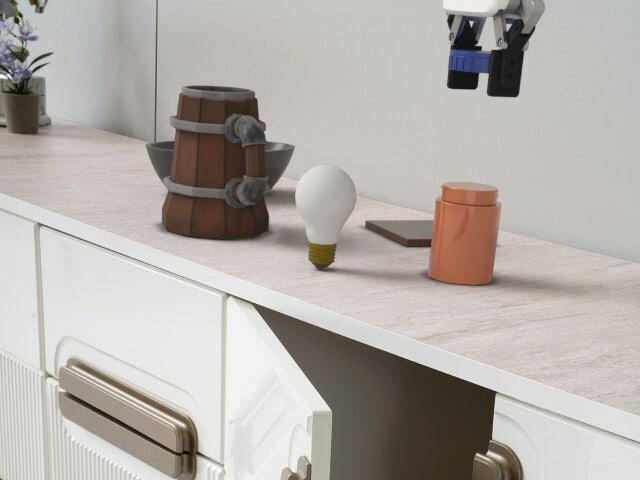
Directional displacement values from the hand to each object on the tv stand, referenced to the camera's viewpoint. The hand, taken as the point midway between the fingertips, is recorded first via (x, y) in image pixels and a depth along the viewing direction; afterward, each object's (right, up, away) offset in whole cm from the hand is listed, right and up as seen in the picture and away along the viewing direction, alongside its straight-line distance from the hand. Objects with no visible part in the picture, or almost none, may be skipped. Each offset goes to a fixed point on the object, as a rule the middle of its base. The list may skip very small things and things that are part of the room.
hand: (481, 91), depth 106 cm
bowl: (-28, +1, +42) cm, 51 cm away
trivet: (-3, -8, +25) cm, 27 cm away
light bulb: (-15, -16, +5) cm, 23 cm away
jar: (-1, -17, +6) cm, 18 cm away
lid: (0, +3, -1) cm, 3 cm away
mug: (-26, -10, +18) cm, 33 cm away
